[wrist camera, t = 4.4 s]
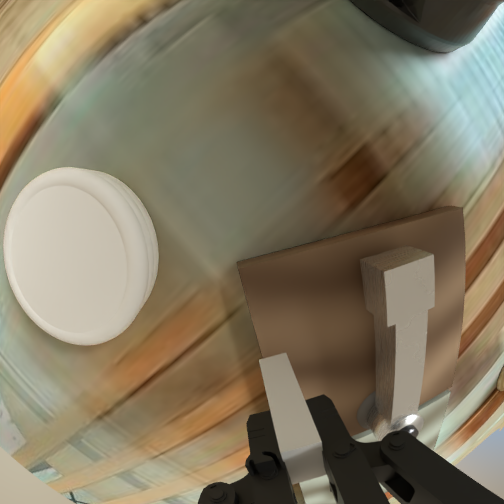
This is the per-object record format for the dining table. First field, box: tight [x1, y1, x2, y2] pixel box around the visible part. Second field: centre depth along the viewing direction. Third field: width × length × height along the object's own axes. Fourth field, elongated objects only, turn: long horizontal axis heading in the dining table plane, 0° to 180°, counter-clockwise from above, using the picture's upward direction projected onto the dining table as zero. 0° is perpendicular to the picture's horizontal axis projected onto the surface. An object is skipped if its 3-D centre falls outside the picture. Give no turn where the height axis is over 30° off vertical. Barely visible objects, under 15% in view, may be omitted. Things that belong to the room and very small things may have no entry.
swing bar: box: [360, 245, 435, 441], centre depth 15 cm, size 15×4×4 cm, turn 14°
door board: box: [237, 206, 465, 504], centre depth 19 cm, size 34×16×4 cm, turn 14°
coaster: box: [3, 167, 159, 346], centre depth 14 cm, size 10×10×4 cm
